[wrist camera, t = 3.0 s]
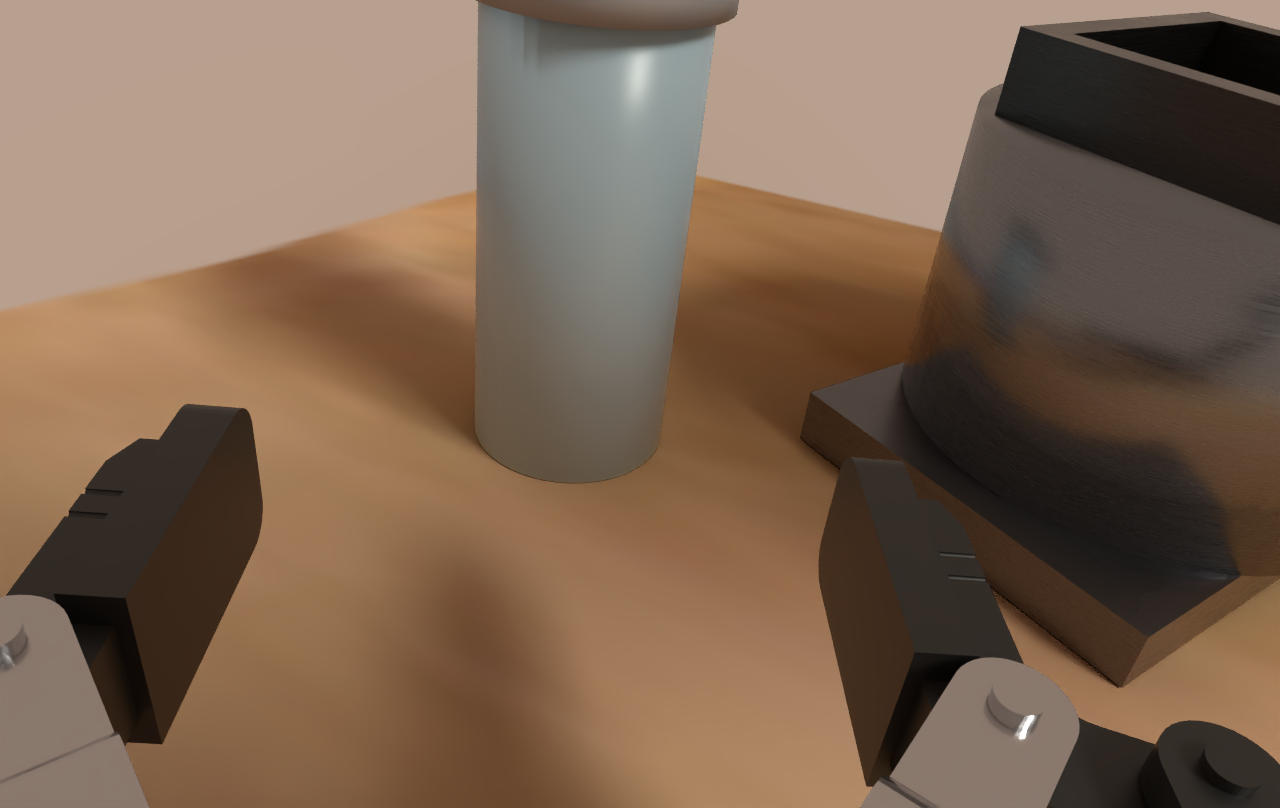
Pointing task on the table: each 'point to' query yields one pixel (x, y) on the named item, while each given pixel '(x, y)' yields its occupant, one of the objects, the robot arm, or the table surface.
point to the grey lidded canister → (583, 223)
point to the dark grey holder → (1103, 336)
